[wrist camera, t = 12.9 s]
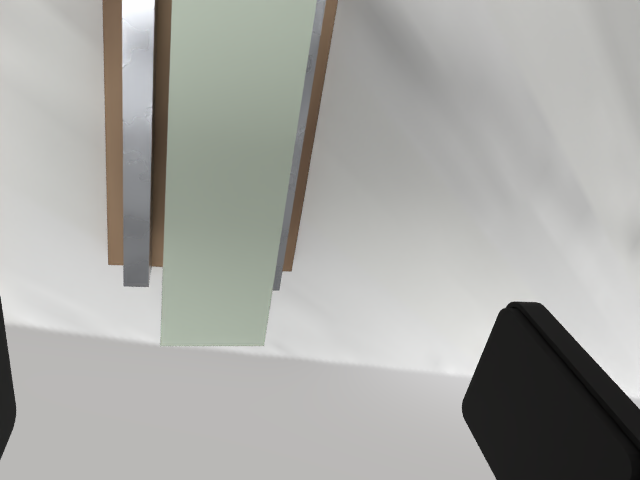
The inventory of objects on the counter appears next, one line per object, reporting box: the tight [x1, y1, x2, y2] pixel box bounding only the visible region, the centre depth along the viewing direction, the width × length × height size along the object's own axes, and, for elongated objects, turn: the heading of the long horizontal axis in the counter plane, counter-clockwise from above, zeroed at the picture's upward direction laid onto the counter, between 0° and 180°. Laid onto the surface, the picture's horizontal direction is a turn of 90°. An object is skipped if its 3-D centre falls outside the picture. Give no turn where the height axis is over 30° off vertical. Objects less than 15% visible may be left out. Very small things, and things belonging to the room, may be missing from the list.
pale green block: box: [160, 0, 317, 346], centre depth 21 cm, size 4×14×9 cm, turn 170°
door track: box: [103, 0, 338, 290], centre depth 24 cm, size 10×18×3 cm, turn 170°
